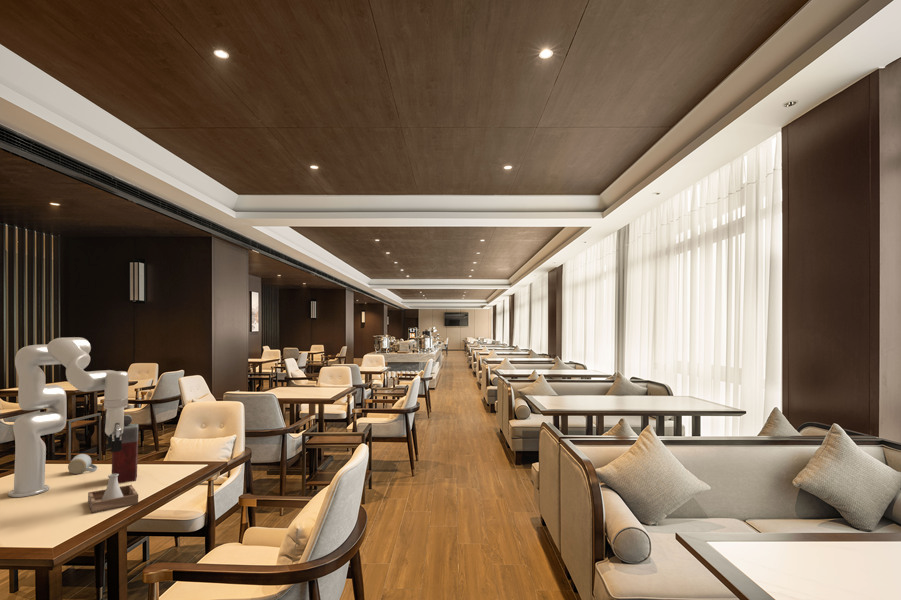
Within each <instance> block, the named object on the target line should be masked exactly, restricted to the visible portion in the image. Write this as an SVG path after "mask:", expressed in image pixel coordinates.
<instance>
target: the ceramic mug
mask: <svg viewBox="0 0 901 600" xmlns="http://www.w3.org/2000/svg"><path fill="white" fill-rule="evenodd" d="M67 469H68V471H69V473H70V474H73V475H79V474H81V473H83V472H85V471H86V472H90V473H91V472H96V471H97V470H98V466H97V465H96V464H93V463H92V458H91V456H90V455H88V454H86V453H80V454H77V455H75V456H74V457H73V458H72V459H71V460H70V461H69V463H68V465H67Z"/></svg>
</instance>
